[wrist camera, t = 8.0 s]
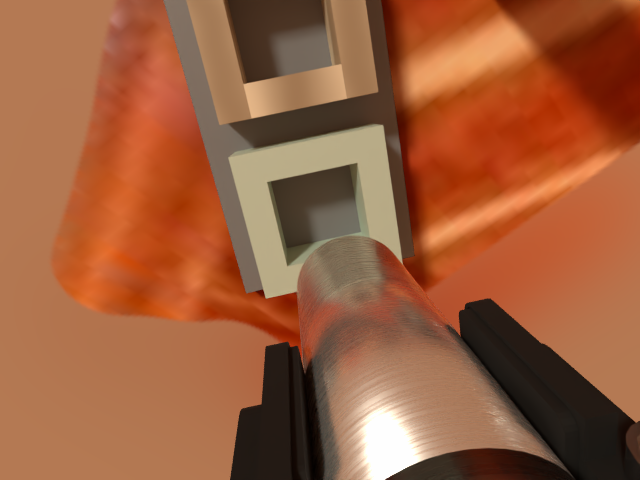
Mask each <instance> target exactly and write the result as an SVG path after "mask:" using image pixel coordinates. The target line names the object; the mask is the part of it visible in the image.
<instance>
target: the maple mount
mask: <svg viewBox="0 0 640 480" xmlns="http://www.w3.org/2000/svg"><path fill="white" fill-rule="evenodd" d="M186 1H187V5H188V9H189V13H190V16H191V20H192V24H193V28H194V31H195V35H196V39H197V43H198V46H199V50H200V54H201V58H202V61H203V65H204V69H205V72H206V76H207V80H208V84H209V87H210V91H211V95H212V99H213V102H214V106H215V110H216V114H217V117H218V121H219V125H223V124H229V123H233V122H238V121H243V120H248V119H253V118H257V117H262V116H267V115H272V114H277V113H281V112H286V111H291V110H296V109H301V108H306V107H310V106H315V105H320V104H325V103H330V102H334V101H339V100H344V99H349V98H354V97H358V96H363V95H368V94H372V93H377V92H378V85H377V78H376V71H375V64H374V57H373V50H372V43H371V36H370V29H369V22H368V15H367V8H366V1H365V0H321V4H322V10H323V15H324V21H325V27H326V33H327V38H328V44H329V50H330V56H331V62H332V66H329V67H324V68H320V69H315V70H310V71H305V72H300V73H295V74H290V75H286V76H281V77H276V78H271V79H266V80H261V81H256V82H252V83H247V79H246V75H245V71H244V67H243V63H242V58H241V54H240V50H239V46H238V42H237V37H236V33H235V29H234V25H233V21H232V16H231V12H230V8H229V4H228V0H186Z"/></svg>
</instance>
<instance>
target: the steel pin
mask: <svg viewBox="0 0 640 480" xmlns="http://www.w3.org/2000/svg"><path fill="white" fill-rule="evenodd" d="M297 298H298V310H299V321H300V333H301V344H302V356H303V368H304V373H305V382H306V393H307V405H308V416H309V427H310V438H311V450H312V461H313V472H314V480H575V478H574V477H573V476H572V475H571V473H570V472H569V471H568V470H567V468H566V467H565V466H564V465H563V463H562V462H561V461H560V460H559V458H558V457H557V456H556V455H555V453H554V452H553V451H552V450H551V448H550V447H549V446H548V445H547V444H546V442H545V441H544V440H543V439H542V437H541V436H540V435H539V434H538V432H537V431H536V430H535V429H534V427H533V426H532V425H531V424H530V422H529V421H528V420H527V419H526V417H525V416H524V415H523V414H522V412H521V411H520V410H519V409H518V407H517V406H516V405H515V404H514V402H513V401H512V400H511V399H510V397H509V396H508V395H507V394H506V393H505V391H504V390H503V389H502V388H501V386H500V385H499V384H498V383H497V381H496V380H495V379H494V378H493V376H492V375H491V374H490V373H489V371H488V370H487V369H486V368H485V366H484V365H483V364H482V363H481V361H480V360H479V359H478V358H477V356H476V355H475V354H474V353H473V351H472V350H471V349H470V348H469V346H468V345H467V344H466V343H465V341H464V340H463V339H462V338H461V337H460V335H459V334H458V333H457V332H456V330H455V329H454V328H453V327H452V325H451V324H450V323H449V322H448V321H447V319H446V318H445V317H444V315H443V314H442V313H441V312H440V310H439V309H438V308H437V307H436V305H435V304H434V303H433V302H432V301H431V299H430V298H429V297H428V295H427V294H426V293H425V292H424V290H423V289H422V288H421V287H420V286H419V284H418V283H417V282H416V281H415V279H414V278H413V277H412V276H411V274H410V273H409V272H408V271H407V269H406V268H405V267H404V266H403V264H402V263H401V262H400V261H399V259H398V258H397V257H396V256H395V254H394V253H393V252H392V251H391V250H390V249H389V248H388V247H386V246H385V245H384V244H382V243H381V242H379V241H377V240H374V239H372V238H369V237H364V236H343V237H339V238H335V239H333V240H330V241H328V242H326V243H324V244H323V245H321V246H320V247H318V248H317V249H316V250H315V251H314V252H313V253H312V254H310V256H309V257H308V258H307V259H306V261H305V263H304V264H303V266H302V268H301V270H300V273H299V276H298V281H297Z"/></svg>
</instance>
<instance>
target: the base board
mask: <svg viewBox="0 0 640 480" xmlns="http://www.w3.org/2000/svg"><path fill="white" fill-rule="evenodd" d="M365 1H366V8H367V15H368V22H369V29H370V36H371V43H372V50H373V57H374V64H375V71H376V78H377V85H378V92H377V93H372V94H368V95H363V96H358V97H354V98H349V99H344V100H339V101H334V102H330V103H325V104H320V105H315V106H310V107H306V108H301V109H296V110H291V111H286V112H281V113H277V114H272V115H267V116H262V117H257V118H253V119H248V120H243V121H238V122H233V123H229V124H223V125H219V121H218V117H217V114H216V110H215V106H214V102H213V99H212V95H211V91H210V87H209V84H208V80H207V76H206V72H205V69H204V65H203V61H202V58H201V54H200V50H199V46H198V43H197V39H196V35H195V31H194V28H193V24H192V20H191V16H190V13H189V9H188V5H187V1H186V0H164V4H165V7H166V11H167V14H168V18H169V21H170V25H171V28H172V32H173V36H174V39H175V43H176V46H177V50H178V53H179V57H180V60H181V64H182V67H183V71H184V74H185V78H186V81H187V85H188V89H189V92H190V96H191V99H192V103H193V106H194V110H195V113H196V117H197V120H198V124H199V127H200V131H201V135H202V138H203V142H204V145H205V149H206V152H207V156H208V159H209V163H210V166H211V170H212V173H213V177H214V180H215V184H216V188H217V191H218V195H219V198H220V202H221V205H222V209H223V212H224V216H225V219H226V223H227V226H228V230H229V234H230V237H231V241H232V244H233V248H234V251H235V255H236V258H237V262H238V265H239V269H240V272H241V276H242V280H243V283H244V287H245V290H246V293H249V292H254V291H258V290H263V286H262V282H261V279H260V275H259V271H258V267H257V264H256V260H255V256H254V252H253V249H252V245H251V241H250V237H249V234H248V230H247V226H246V222H245V219H244V215H243V211H242V207H241V204H240V200H239V196H238V192H237V189H236V185H235V181H234V177H233V174H232V170H231V166H230V162H229V159H228V157H230V156H231V155H232V154H233V153H235V152H237V151H242V150H247V149H251V148H256V147H261V146H266V145H270V144H275V143H280V142H285V141H289V140H294V139H299V138H304V137H309V136H313V135H318V134H323V133H328V132H332V131H337V130H342V129H347V128H351V127H356V126H361V125H366V124H378V125H383V128H384V135H385V142H386V149H387V156H388V163H389V170H390V177H391V184H392V191H393V198H394V205H395V212H396V219H397V226H398V233H399V240H400V248H401V255H402V259H404V258H408V257H413V256H415V255H414V248H413V240H412V232H411V225H410V217H409V209H408V202H407V194H406V186H405V179H404V171H403V163H402V156H401V148H400V141H399V133H398V125H397V118H396V110H395V102H394V95H393V87H392V79H391V72H390V64H389V56H388V49H387V41H386V33H385V26H384V18H383V10H382V3H381V0H365ZM228 4H229V8H230V12H231V16H232V21H233V25H234V29H235V33H236V37H237V42H238V46H239V50H240V54H241V58H242V63H243V67H244V71H245V75H246V79H247V83H252V82H256V81H261V80H266V79H271V78H276V77H281V76H286V75H290V74H295V73H300V72H305V71H310V70H315V69H320V68H324V67H329V66H332V62H331V56H330V50H329V44H328V38H327V33H326V27H325V21H324V15H323V10H322V4H321V0H228ZM271 184H272V189H273V193H274V197H275V201H276V205H277V210H278V214H279V218H280V222H281V226H282V231H283V235H284V239H285V243H286V247H287V248H290V247H295V246H299V245H304V244H308V243H313V242H318V241H322V240H327V239H331V238H336V237H341V236H345V235H350V234H354V233H359V232H361V229H360V224H359V218H358V212H357V206H356V200H355V195H354V189H353V183H352V177H351V172H350V166H349V165H345V166H340V167H335V168H331V169H326V170H321V171H317V172H312V173H307V174H302V175H298V176H293V177H288V178H284V179H279V180H274V181H271Z"/></svg>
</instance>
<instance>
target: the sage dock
mask: <svg viewBox="0 0 640 480" xmlns="http://www.w3.org/2000/svg"><path fill="white" fill-rule="evenodd" d="M228 159H229V162H230V166H231V170H232V174H233V177H234V181H235V185H236V189H237V192H238V196H239V200H240V204H241V207H242V211H243V215H244V219H245V222H246V226H247V230H248V234H249V237H250V241H251V245H252V249H253V252H254V256H255V260H256V264H257V267H258V271H259V275H260V279H261V282H262V286H263V290H264V294H265V297H266V298H270V297H275V296H279V295H284V294H289V293H293V292H297V281H298V276H299V273H300V270H301V268H302V266H303V264H304V263H305V261H306V259H307V258H308V257H309V256H310V254H312V253H313V252H314V251H315V250H316V249H317V248H318V247H320V246H321V245H323V244H324V243H326V242H328V241H330V240H333V239H335V238H331V239H327V240H322V241H318V242H313V243H308V244H304V245H299V246H295V247H290V248H287V247H286V243H285V239H284V235H283V231H282V226H281V222H280V218H279V214H278V210H277V205H276V201H275V197H274V193H273V189H272V184H271V181H274V180H279V179H284V178H288V177H293V176H298V175H302V174H307V173H312V172H317V171H321V170H326V169H331V168H335V167H340V166H345V165H349V166H350V172H351V177H352V183H353V189H354V195H355V200H356V206H357V212H358V218H359V224H360V229H361V232H359V233H354V234H350V235H345V236H364V237H369V238H372V239H374V240H377V241H379V242H381V243H382V244H384V245H385V246H386V247H388V248H389V249H390V250H391V251H392V252H393V253H394V254H395V256H396V257H397V258H398V259H399V261H400V262H401V263H402V264H403V262H402V255H401V248H400V240H399V233H398V226H397V219H396V212H395V205H394V198H393V191H392V184H391V177H390V170H389V163H388V156H387V149H386V142H385V135H384V128H383V125H378V124H366V125H361V126H356V127H351V128H347V129H342V130H337V131H332V132H328V133H323V134H318V135H313V136H309V137H304V138H299V139H294V140H289V141H285V142H280V143H275V144H270V145H266V146H261V147H256V148H251V149H247V150H242V151H237V152H235V153H233V154H232V155H231V156H230V157H228ZM341 237H343V236H341ZM336 238H339V237H336Z"/></svg>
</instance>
